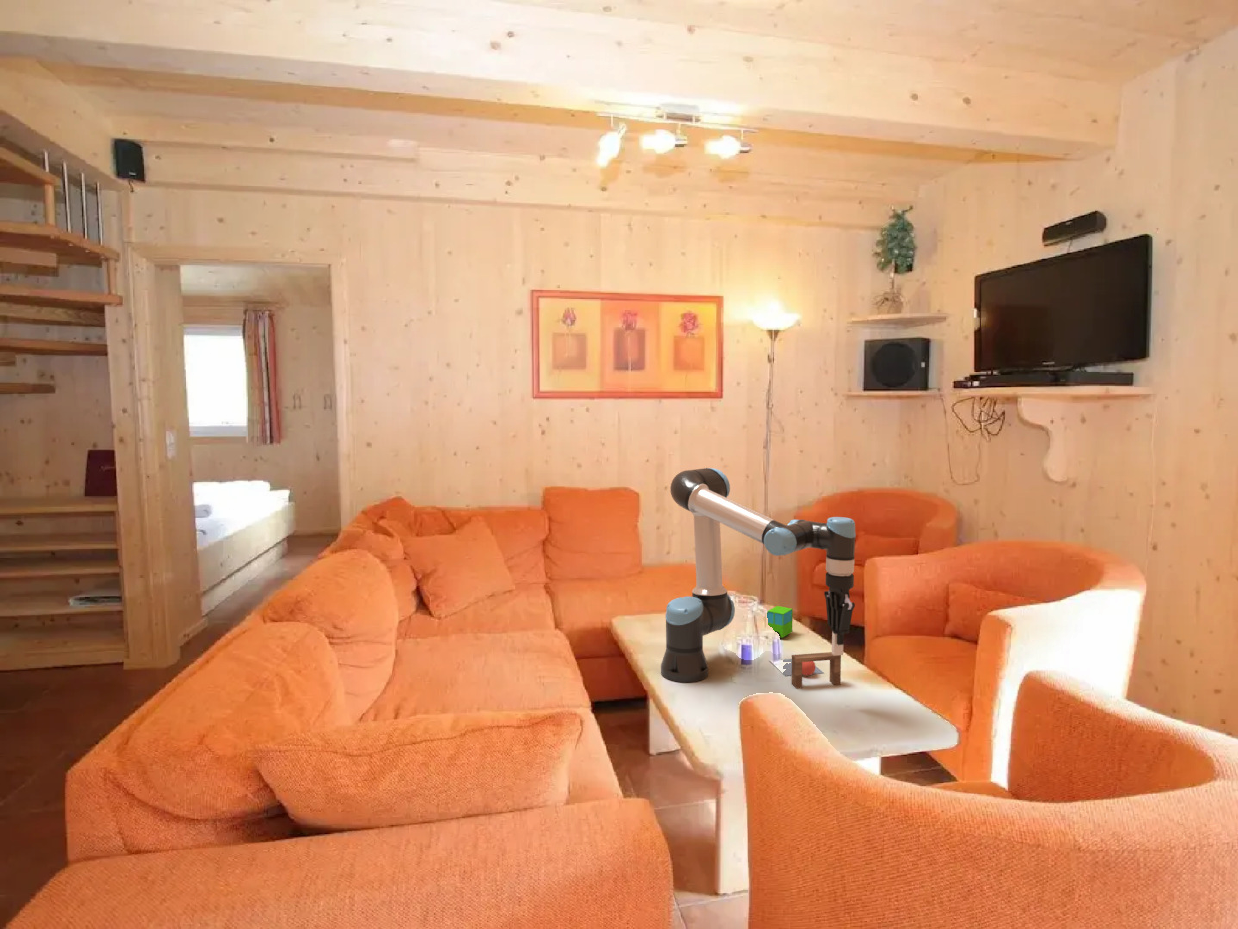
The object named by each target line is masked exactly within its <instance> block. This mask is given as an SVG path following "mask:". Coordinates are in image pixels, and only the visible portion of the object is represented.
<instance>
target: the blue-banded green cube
mask: <svg viewBox="0 0 1238 929" xmlns="http://www.w3.org/2000/svg"><path fill="white" fill-rule="evenodd" d="M793 612H794V610H793V608H791V607H785V606H780V605H775V607H772V608H771V609H769V610H767V611H766V614H767V618H768V625H769V626H770V627H772V628H773V630H774V631H775V632H777V633H778V634H779V636H780V639H781V638H782V639H783V638H784V637H787V636H788V635H790V634H791V633H792V632H793Z"/></svg>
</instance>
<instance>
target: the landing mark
mask: <svg viewBox="0 0 1238 929" xmlns="http://www.w3.org/2000/svg"><path fill="white" fill-rule="evenodd" d="M783 662H791V663H789V664H788V663H786V664H785V665H784V666H783V669H786V670H785V671H784V672H783V674H782V675H783V676H784V675H785V676H784V677H792V658H785V659H784V660H783ZM820 674H821V675H822V674H825V673H824V671H823V670H821V669H820V668H819V667H817V666H816V665H815V671H814V673H813V674H812V675H820ZM802 676H804V675H803V674H802Z"/></svg>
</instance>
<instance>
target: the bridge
mask: <svg viewBox="0 0 1238 929" xmlns="http://www.w3.org/2000/svg"><path fill="white" fill-rule="evenodd" d="M841 658H842V655H836V656H834V655H833V654H832V651H829V652H816V653H812V652H811V653H805V654H804V653H803V654H802V653H801V654H791V659H792V676H791V679H790V680H791V682H790V683H791V684H790V685H791V686H792V687H793V688H795V689H802V688H803V675H802V662H810V661H813V662H821V661H823V662H824V661H829V682H830V684H832V685H833V686H840V685H841V672H842V671H841V668H842V659H841Z"/></svg>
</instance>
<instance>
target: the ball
mask: <svg viewBox="0 0 1238 929" xmlns="http://www.w3.org/2000/svg"><path fill="white" fill-rule="evenodd" d="M815 666H816V663H815V661H810V662H802V674H803V675H802V676H807V677H808V676H810V675H811V676H812V675H814V674H813V673H814V671H815Z"/></svg>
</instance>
